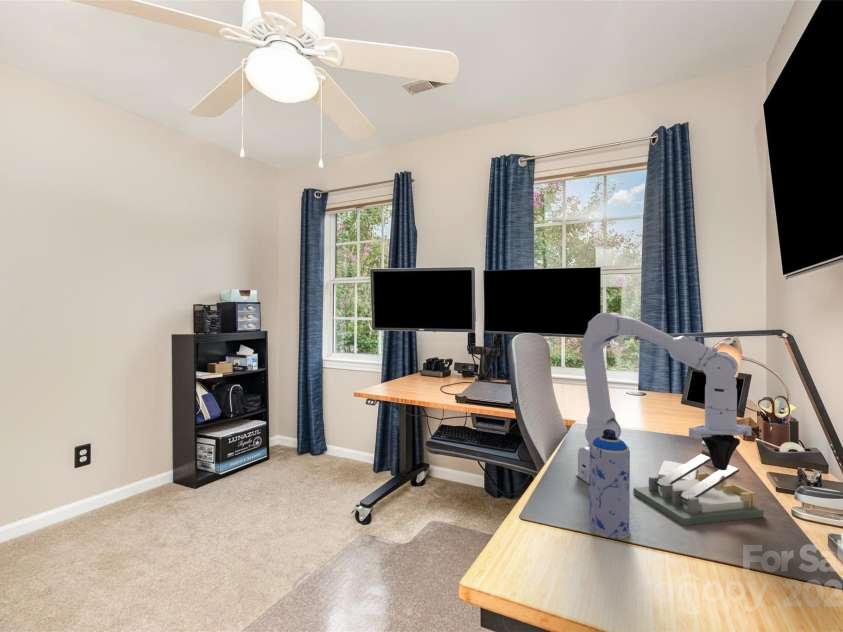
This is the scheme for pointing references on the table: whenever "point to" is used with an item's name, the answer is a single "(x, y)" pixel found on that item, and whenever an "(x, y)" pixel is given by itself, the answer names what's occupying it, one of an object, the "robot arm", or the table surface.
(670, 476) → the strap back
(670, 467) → the external hard drive
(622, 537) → the aerosol can
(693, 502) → the board
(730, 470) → the strap front
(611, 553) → the table surface
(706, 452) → the pill bottle
